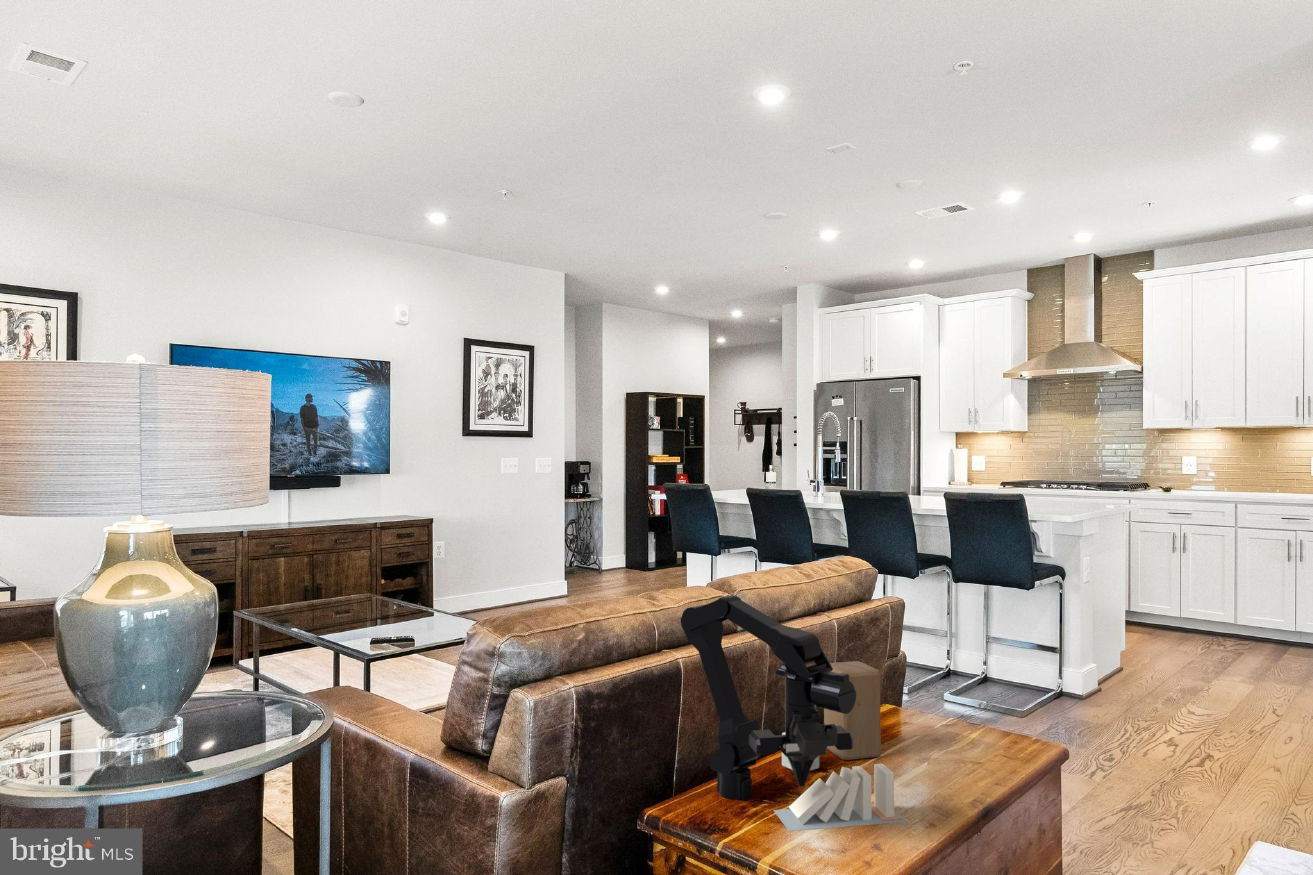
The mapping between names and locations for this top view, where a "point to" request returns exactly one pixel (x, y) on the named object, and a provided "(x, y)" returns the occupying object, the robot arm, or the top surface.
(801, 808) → the domino
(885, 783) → the end domino
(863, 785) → the domino
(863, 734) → the wooden block
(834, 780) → the domino
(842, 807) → the domino
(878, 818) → the domino board
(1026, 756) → the top surface
